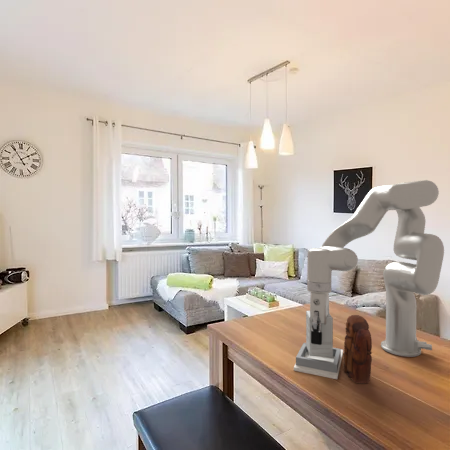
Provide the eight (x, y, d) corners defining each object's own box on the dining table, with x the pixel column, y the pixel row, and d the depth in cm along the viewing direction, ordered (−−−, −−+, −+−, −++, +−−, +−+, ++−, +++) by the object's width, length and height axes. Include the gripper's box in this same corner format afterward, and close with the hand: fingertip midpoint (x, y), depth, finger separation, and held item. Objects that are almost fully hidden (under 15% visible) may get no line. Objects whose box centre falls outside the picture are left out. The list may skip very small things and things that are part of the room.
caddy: (343, 352, 111) (343, 342, 111) (337, 379, 93) (337, 367, 92) (306, 346, 116) (306, 336, 116) (293, 370, 98) (293, 359, 98)
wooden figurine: (339, 365, 101) (339, 310, 101) (359, 365, 101) (359, 310, 100) (353, 385, 89) (353, 323, 89) (375, 385, 89) (376, 323, 89)
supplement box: (328, 347, 106) (328, 310, 105) (333, 357, 98) (333, 317, 98) (305, 346, 106) (305, 310, 106) (309, 356, 99) (309, 317, 99)
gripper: (327, 293, 92) (327, 351, 93) (334, 282, 108) (333, 331, 109) (302, 291, 96) (301, 346, 96) (312, 280, 111) (311, 328, 112)
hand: (318, 338), depth 102 cm, fingers closed on supplement box, 9 cm apart
